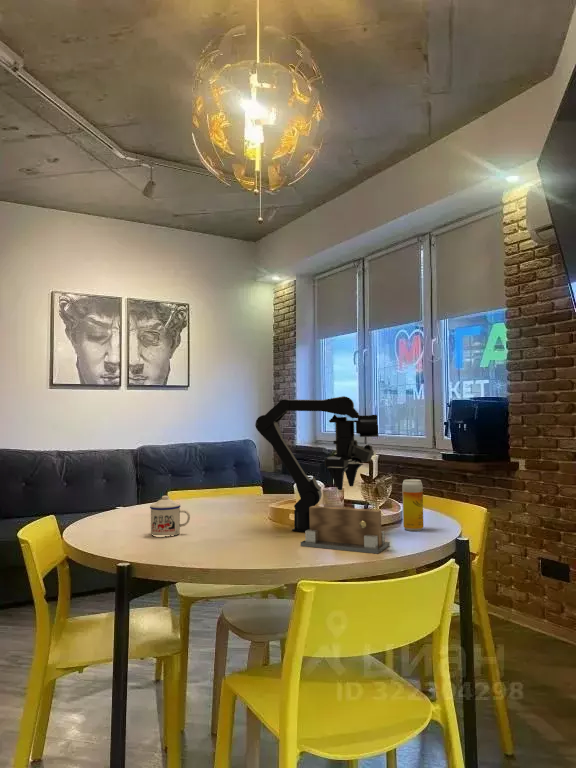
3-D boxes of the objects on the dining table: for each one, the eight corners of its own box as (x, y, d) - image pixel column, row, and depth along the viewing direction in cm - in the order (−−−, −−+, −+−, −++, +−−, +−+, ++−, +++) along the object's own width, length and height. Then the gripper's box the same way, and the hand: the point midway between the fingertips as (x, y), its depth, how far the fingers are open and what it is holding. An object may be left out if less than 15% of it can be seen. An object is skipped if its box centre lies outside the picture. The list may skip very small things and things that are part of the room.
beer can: (423, 531, 178) (422, 481, 178) (403, 531, 179) (402, 481, 180) (423, 527, 184) (422, 479, 184) (403, 527, 185) (402, 479, 186)
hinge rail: (300, 545, 161) (300, 531, 161) (315, 538, 170) (315, 524, 170) (377, 553, 151) (377, 537, 151) (389, 545, 160) (389, 530, 160)
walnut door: (308, 540, 163) (307, 507, 164) (313, 538, 166) (312, 505, 167) (377, 547, 154) (376, 512, 154) (381, 544, 157) (381, 510, 158)
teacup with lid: (147, 538, 174) (147, 498, 175) (153, 532, 183) (152, 494, 184) (188, 537, 175) (188, 497, 175) (191, 531, 184) (191, 493, 184)
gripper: (358, 438, 170) (360, 493, 169) (379, 436, 186) (380, 485, 186) (323, 438, 175) (324, 491, 174) (346, 435, 192) (347, 484, 191)
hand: (345, 488), depth 181 cm, fingers open, 9 cm apart
